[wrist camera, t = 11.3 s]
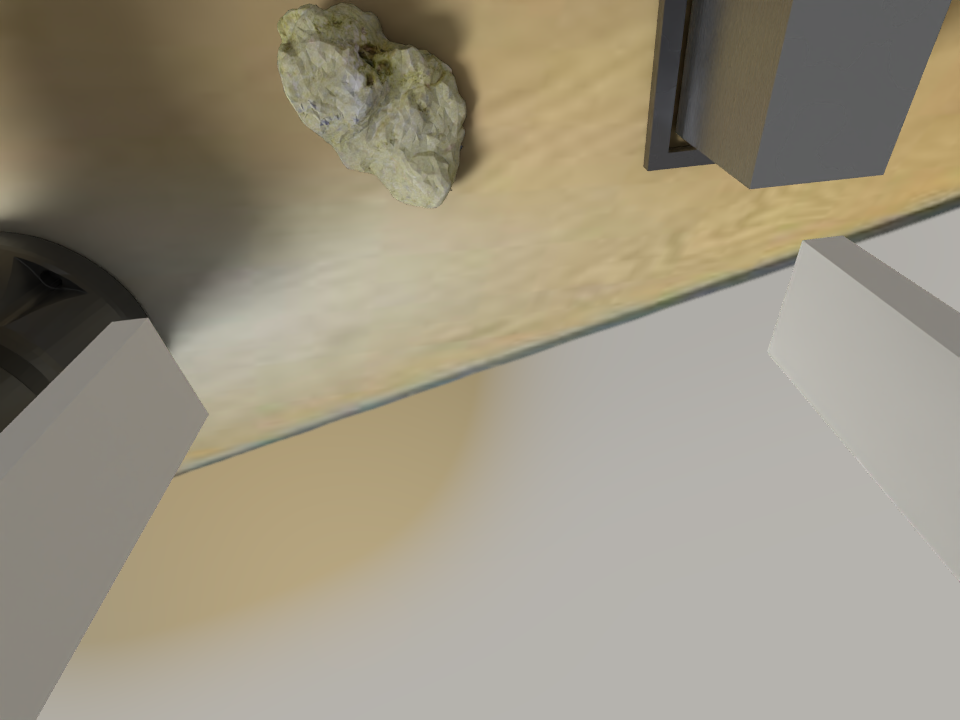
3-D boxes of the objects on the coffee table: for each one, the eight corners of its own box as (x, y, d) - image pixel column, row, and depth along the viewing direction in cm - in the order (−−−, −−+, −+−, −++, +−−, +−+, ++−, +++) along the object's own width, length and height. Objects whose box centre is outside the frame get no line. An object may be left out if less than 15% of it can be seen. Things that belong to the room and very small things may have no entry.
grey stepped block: (675, 132, 31) (749, 189, 23) (697, -39, 26) (803, -46, 18) (772, 121, 31) (883, 174, 23) (813, -55, 26) (978, -69, 17)
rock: (451, 194, 35) (488, 38, 28) (442, 244, 31) (483, 73, 24) (299, 153, 34) (297, -23, 26) (266, 200, 29) (254, 3, 22)
